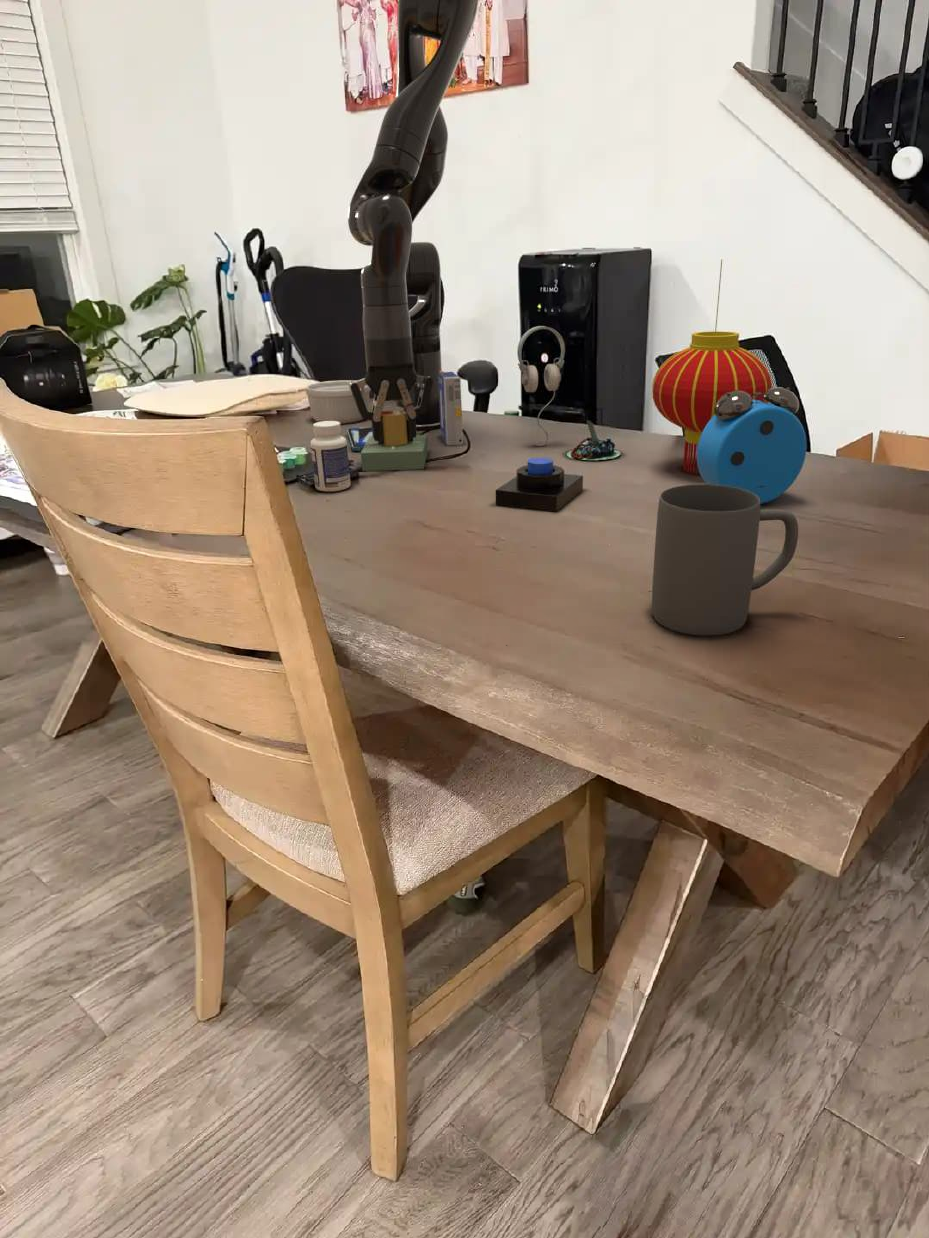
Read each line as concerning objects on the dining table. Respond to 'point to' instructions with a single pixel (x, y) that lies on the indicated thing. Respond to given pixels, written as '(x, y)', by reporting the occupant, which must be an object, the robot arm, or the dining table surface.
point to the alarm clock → (753, 443)
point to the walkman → (450, 408)
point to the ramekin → (335, 401)
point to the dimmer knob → (394, 427)
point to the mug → (711, 557)
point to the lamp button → (540, 466)
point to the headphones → (550, 372)
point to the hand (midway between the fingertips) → (395, 441)
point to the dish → (594, 447)
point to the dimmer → (394, 455)
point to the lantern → (705, 382)
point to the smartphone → (359, 437)
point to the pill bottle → (330, 457)
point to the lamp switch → (539, 490)
